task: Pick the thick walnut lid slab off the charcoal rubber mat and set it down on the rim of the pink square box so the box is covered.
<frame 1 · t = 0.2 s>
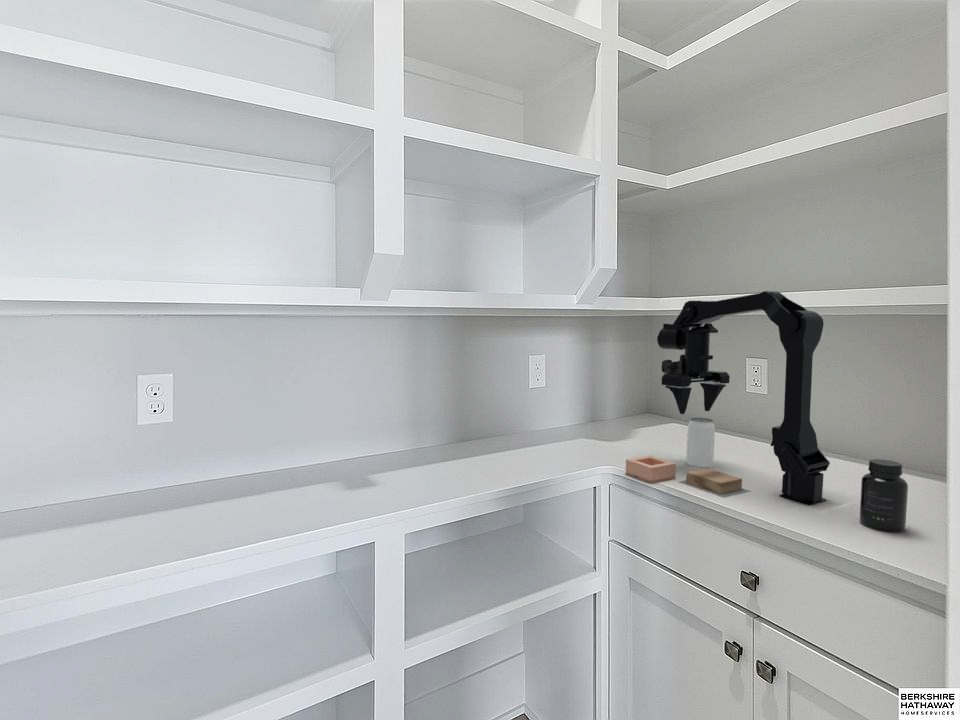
hand: (694, 412, 133), 14 cm above the worktop, tool pointing down, fingers open, 9 cm apart
can: (699, 465, 137), on the worktop
supplement bottle: (881, 526, 98), on the worktop
pink square box: (650, 477, 126), on the worktop
mat: (713, 488, 118), on the worktop
lid: (713, 486, 118), resting on mat
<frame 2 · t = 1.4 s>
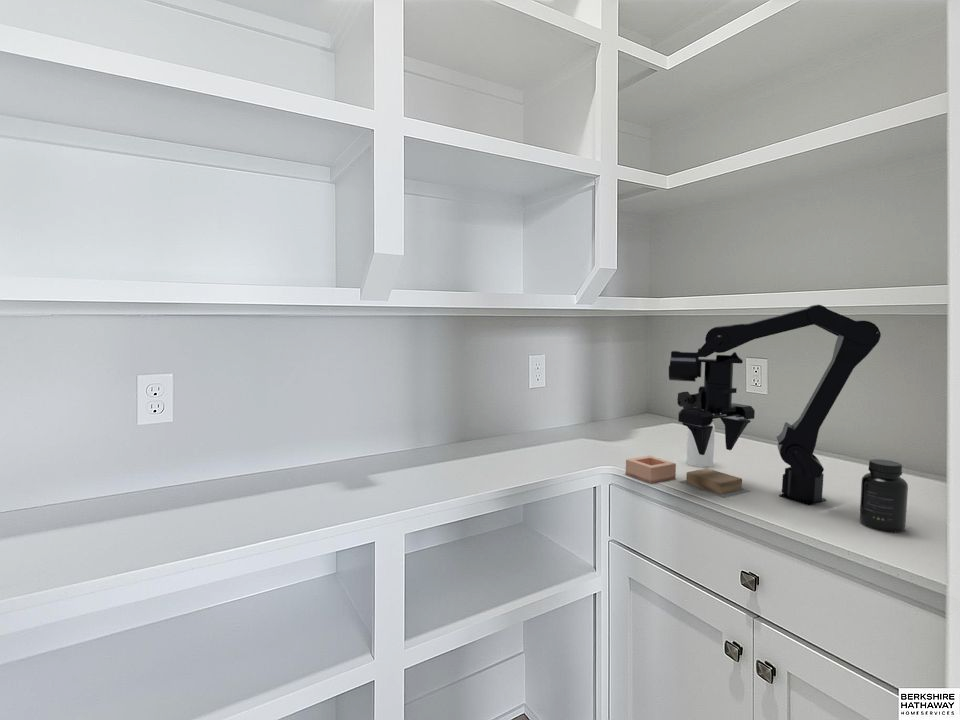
hand: (715, 452, 118), 8 cm above the worktop, tool pointing down, fingers open, 9 cm apart
nothing on the worktop moved.
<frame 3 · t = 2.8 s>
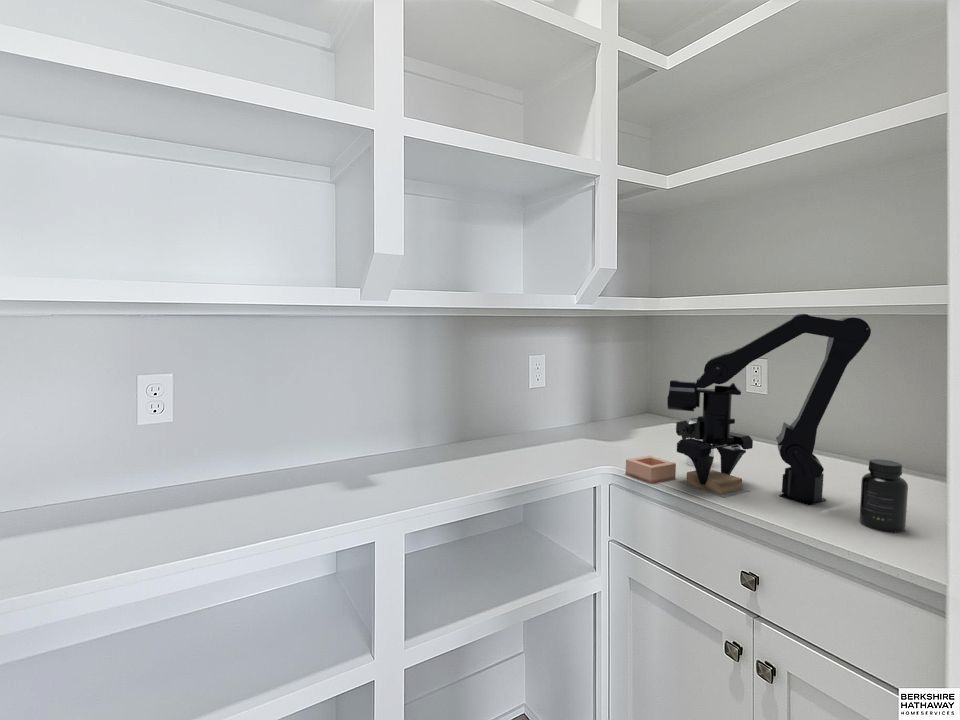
hand: (713, 481, 118), 1 cm above the worktop, tool pointing down, fingers closed on lid, 7 cm apart
lid: (713, 486, 118), resting on mat, touching gripper
everything else where it was.
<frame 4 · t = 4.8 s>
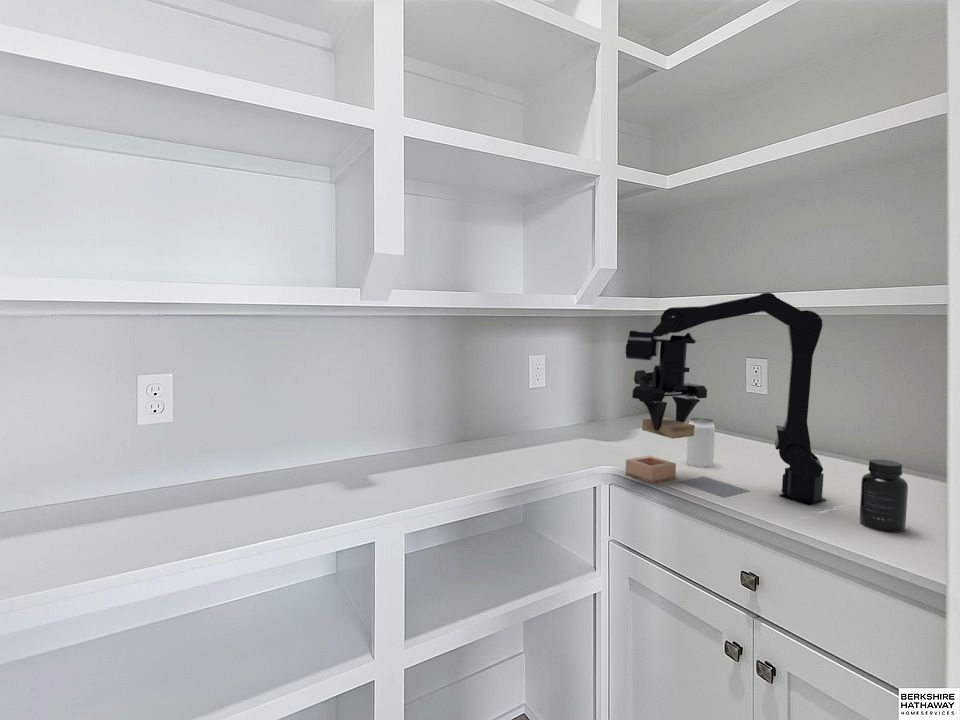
hand: (667, 428, 123), 12 cm above the worktop, tool pointing down, fingers closed on lid, 7 cm apart
lid: (667, 432, 123), point 11 cm above the worktop, touching gripper
everything else where it was.
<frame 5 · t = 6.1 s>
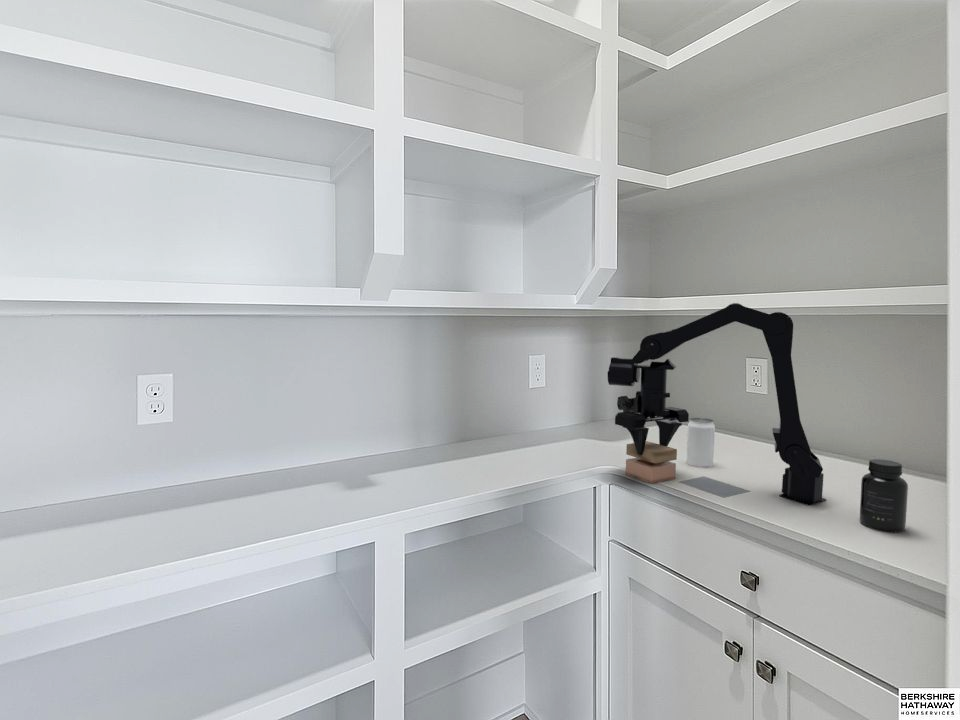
hand: (651, 453, 125), 6 cm above the worktop, tool pointing down, fingers closed on lid, 7 cm apart
lid: (650, 457, 125), point 5 cm above the worktop, touching gripper
everything else where it was.
when the fingers open (6 cm above the worktop, at t = 7.0 s): lid drops 1 cm, resting on pink square box.
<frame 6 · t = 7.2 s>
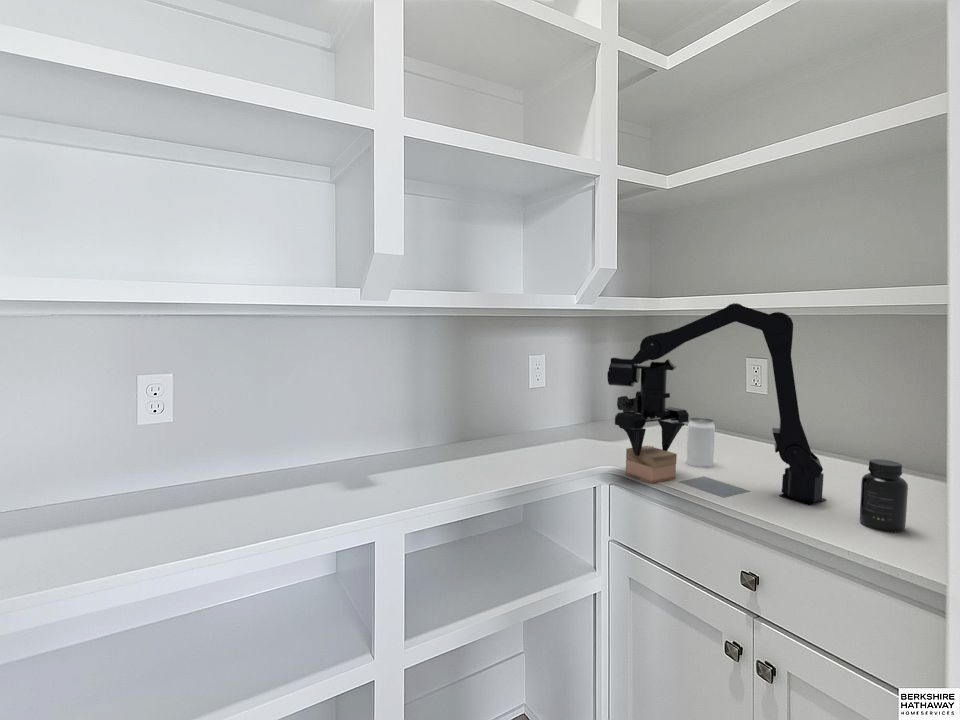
hand: (651, 453, 125), 6 cm above the worktop, tool pointing down, fingers open, 9 cm apart
lid: (650, 461, 125), point 4 cm above the worktop, touching pink square box
everything else where it was.
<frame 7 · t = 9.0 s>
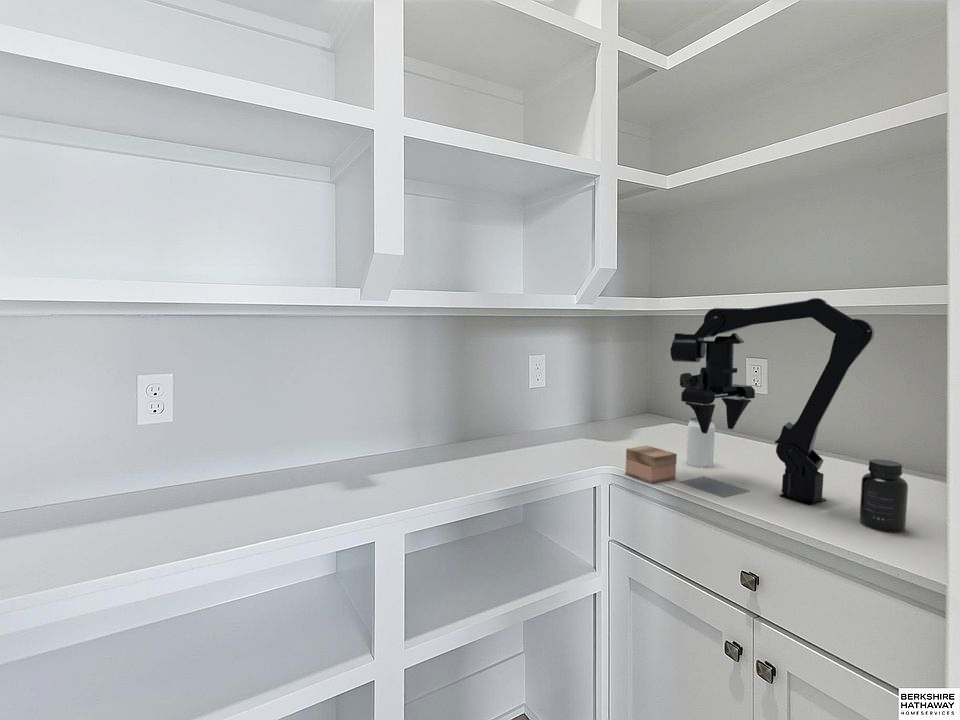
hand: (717, 431, 121), 12 cm above the worktop, tool pointing down, fingers open, 9 cm apart
nothing on the worktop moved.
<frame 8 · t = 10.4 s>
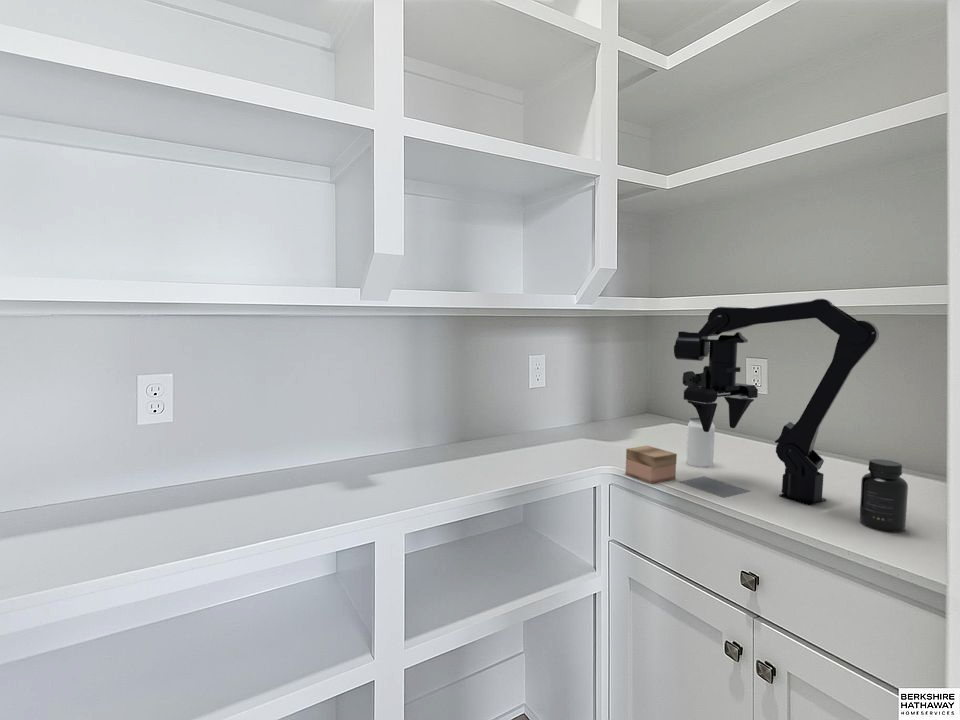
hand: (719, 429, 121), 13 cm above the worktop, tool pointing down, fingers open, 9 cm apart
nothing on the worktop moved.
at the end: lid 0.0 cm off-centre on the pink square box, point 4.0 cm above the pink square box's base; lid tilted 0°; the gripper is holding nothing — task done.
